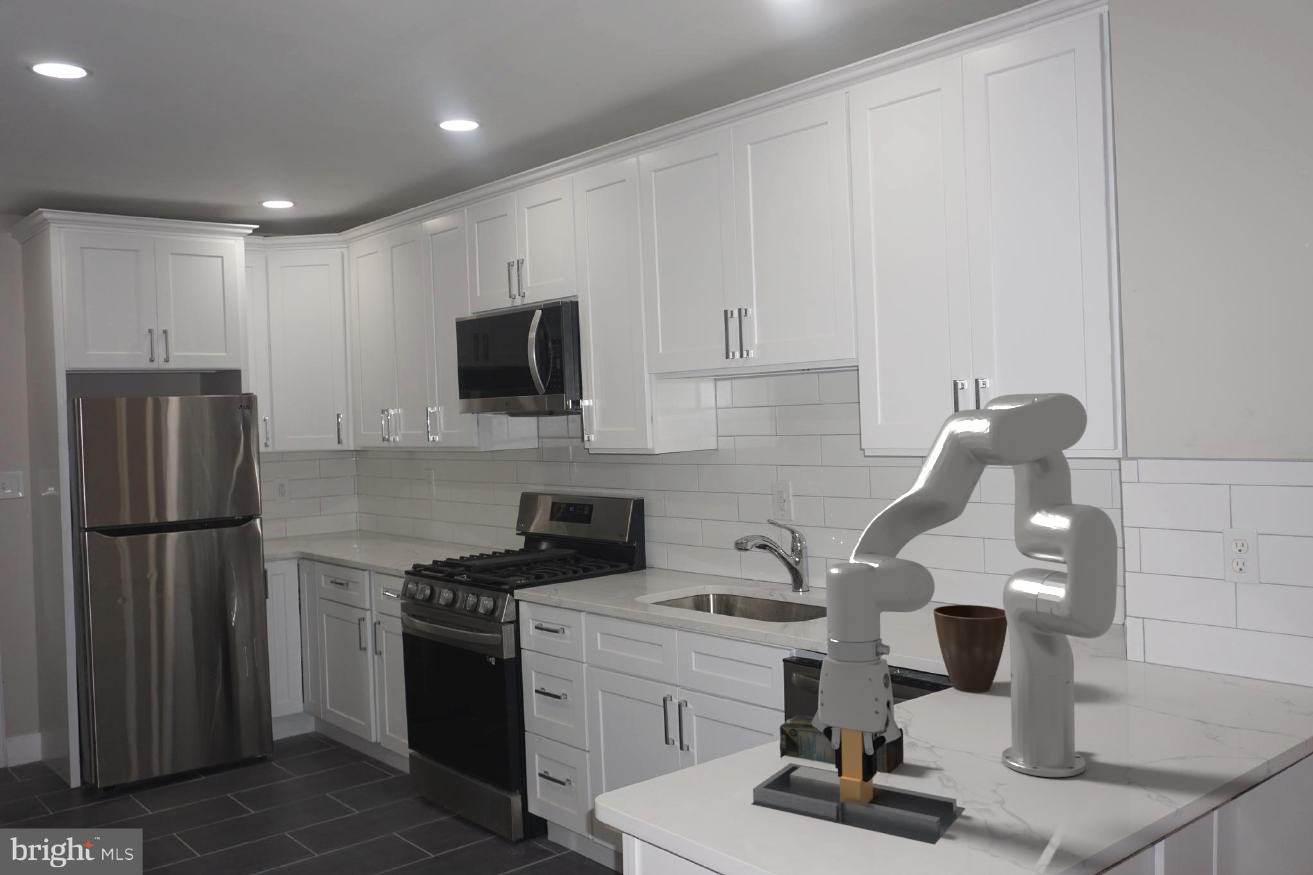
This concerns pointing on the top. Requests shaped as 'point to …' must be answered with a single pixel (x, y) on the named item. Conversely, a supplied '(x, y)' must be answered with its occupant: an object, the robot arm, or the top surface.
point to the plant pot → (971, 644)
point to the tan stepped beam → (853, 768)
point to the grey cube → (828, 787)
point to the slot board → (866, 808)
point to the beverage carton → (814, 745)
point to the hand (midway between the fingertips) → (856, 775)
